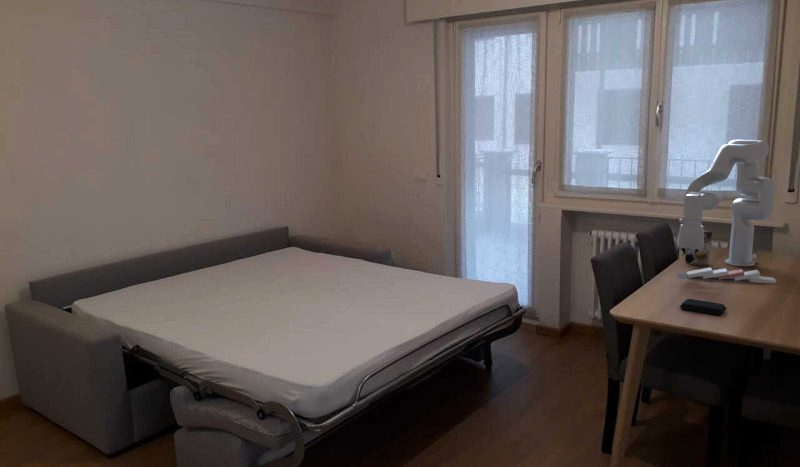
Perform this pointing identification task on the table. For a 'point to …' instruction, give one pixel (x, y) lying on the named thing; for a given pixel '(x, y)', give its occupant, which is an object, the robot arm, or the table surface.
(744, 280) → the domino mat
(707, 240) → the coffee box
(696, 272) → the domino
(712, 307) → the carrying case or bag
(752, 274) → the domino
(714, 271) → the domino
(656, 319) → the table surface
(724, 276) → the red domino
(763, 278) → the domino
